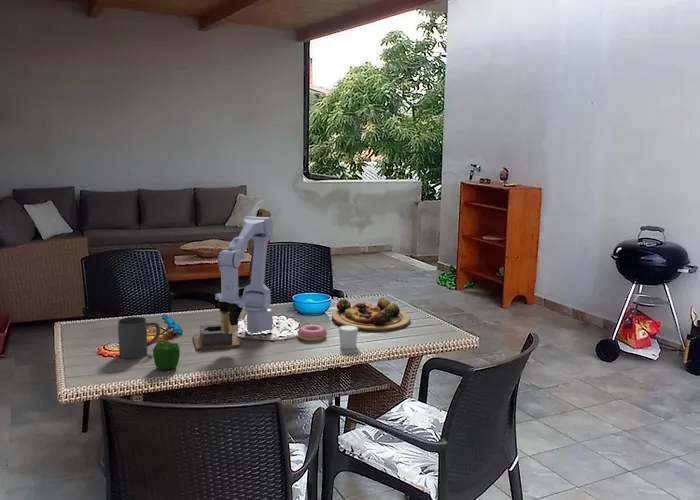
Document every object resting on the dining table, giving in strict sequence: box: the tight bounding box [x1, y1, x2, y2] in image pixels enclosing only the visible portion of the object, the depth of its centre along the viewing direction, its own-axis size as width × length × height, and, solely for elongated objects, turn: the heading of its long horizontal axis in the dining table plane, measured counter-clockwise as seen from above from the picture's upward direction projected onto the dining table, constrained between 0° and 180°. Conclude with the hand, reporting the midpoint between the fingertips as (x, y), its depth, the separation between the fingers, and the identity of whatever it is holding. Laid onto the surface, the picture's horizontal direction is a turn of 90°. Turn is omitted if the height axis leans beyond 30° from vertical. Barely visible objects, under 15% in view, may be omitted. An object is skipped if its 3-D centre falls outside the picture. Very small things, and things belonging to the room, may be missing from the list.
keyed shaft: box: [220, 310, 239, 334], centre depth 223 cm, size 5×4×7 cm
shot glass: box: [338, 325, 359, 350], centre depth 232 cm, size 7×7×7 cm
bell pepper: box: [152, 338, 181, 371], centre depth 207 cm, size 8×8×10 cm
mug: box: [117, 316, 161, 360], centre depth 219 cm, size 14×9×12 cm
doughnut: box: [297, 324, 328, 342], centre depth 241 cm, size 11×11×4 cm
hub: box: [192, 323, 241, 351], centre depth 233 cm, size 15×15×5 cm
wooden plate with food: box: [331, 296, 411, 333], centre depth 264 cm, size 32×32×8 cm
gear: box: [161, 313, 184, 335], centre depth 242 cm, size 11×6×10 cm
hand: (230, 323), depth 223 cm, fingers closed on keyed shaft, 4 cm apart
